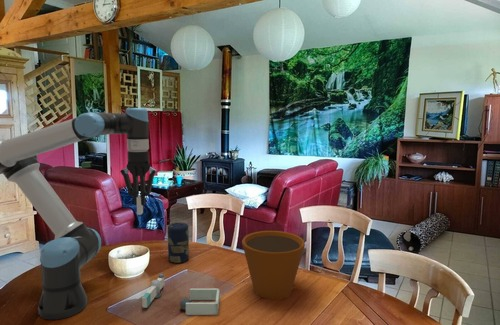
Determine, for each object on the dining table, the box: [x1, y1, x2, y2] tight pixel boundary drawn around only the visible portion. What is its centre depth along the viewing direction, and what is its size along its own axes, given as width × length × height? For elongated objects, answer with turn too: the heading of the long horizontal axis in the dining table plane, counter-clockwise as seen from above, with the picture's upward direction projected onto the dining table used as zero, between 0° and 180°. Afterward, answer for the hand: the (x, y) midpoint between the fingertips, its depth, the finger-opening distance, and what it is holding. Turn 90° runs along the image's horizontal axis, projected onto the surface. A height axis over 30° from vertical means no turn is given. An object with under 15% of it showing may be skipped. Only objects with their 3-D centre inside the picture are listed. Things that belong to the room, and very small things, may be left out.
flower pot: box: [241, 230, 306, 300], centre depth 137 cm, size 24×24×20 cm
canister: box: [167, 222, 190, 264], centre depth 164 cm, size 10×10×18 cm
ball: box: [179, 297, 192, 311], centre depth 124 cm, size 4×4×4 cm
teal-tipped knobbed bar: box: [141, 272, 165, 309], centre depth 131 cm, size 3×17×5 cm, turn 173°
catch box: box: [185, 288, 221, 316], centre depth 125 cm, size 11×11×4 cm
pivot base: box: [153, 291, 163, 300], centre depth 133 cm, size 4×4×1 cm
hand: (140, 213), depth 132 cm, fingers closed
